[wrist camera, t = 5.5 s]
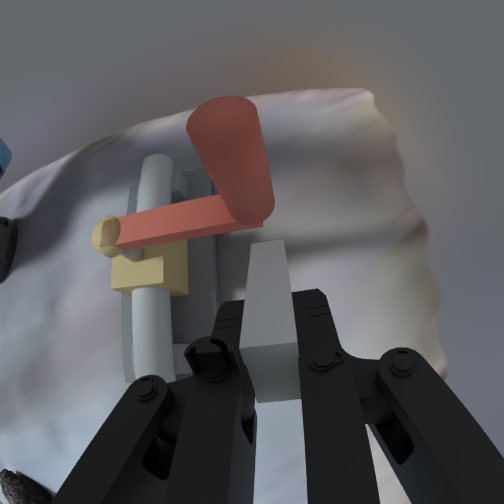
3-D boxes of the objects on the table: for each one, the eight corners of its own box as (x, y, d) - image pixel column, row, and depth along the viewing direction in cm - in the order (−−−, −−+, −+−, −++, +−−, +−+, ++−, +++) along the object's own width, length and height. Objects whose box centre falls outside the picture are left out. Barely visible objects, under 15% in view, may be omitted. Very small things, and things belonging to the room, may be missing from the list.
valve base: (132, 381, 28) (70, 388, 18) (135, 192, 37) (94, 149, 27) (227, 383, 26) (188, 402, 16) (212, 172, 35) (184, 117, 25)
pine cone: (11, 462, 24) (-20, 465, 15) (54, 489, 22) (18, 501, 13) (25, 497, 20) (-4, 504, 11) (72, 527, 18) (41, 542, 9)
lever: (99, 260, 21) (18, 214, 12) (103, 226, 22) (31, 172, 13) (279, 229, 19) (261, 135, 10) (273, 190, 20) (253, 90, 11)
